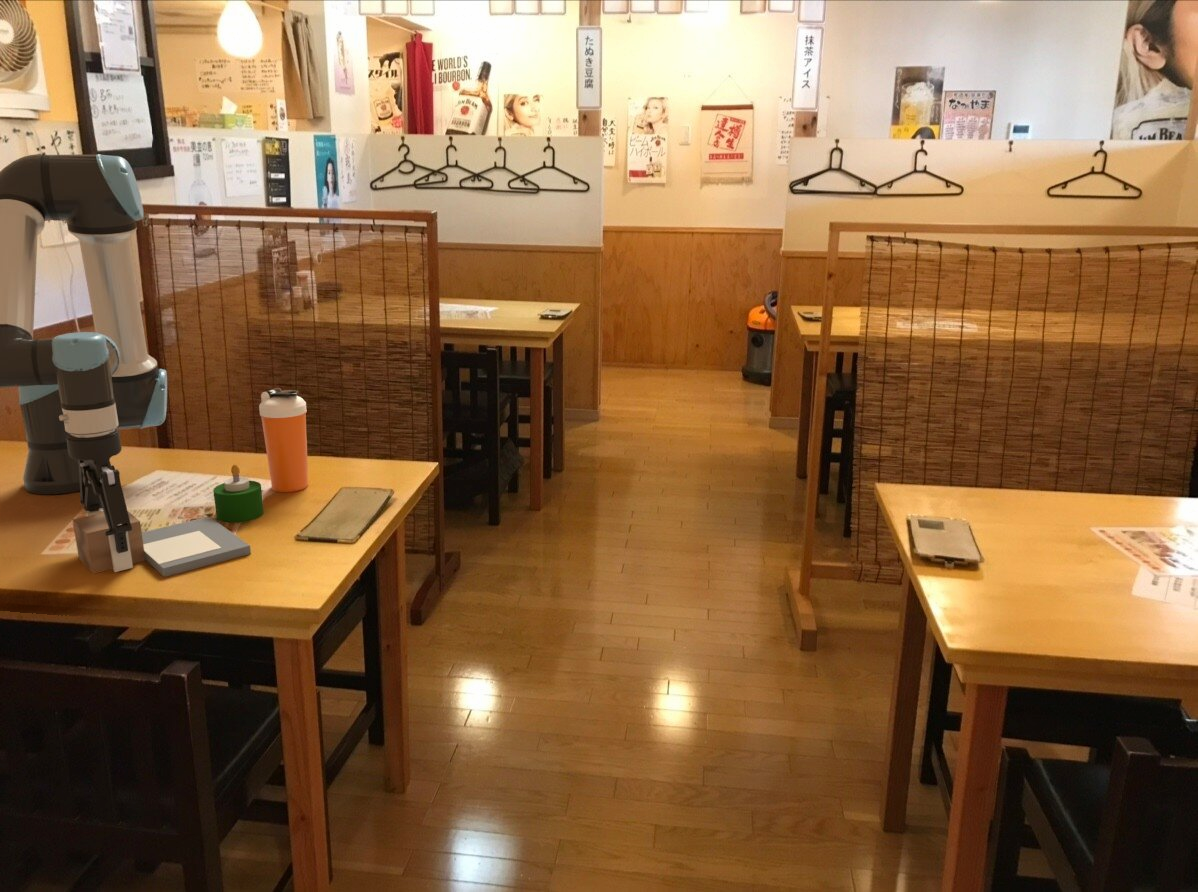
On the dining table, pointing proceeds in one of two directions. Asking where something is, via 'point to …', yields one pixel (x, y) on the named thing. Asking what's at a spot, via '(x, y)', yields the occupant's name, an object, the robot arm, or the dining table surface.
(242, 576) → the dining table surface
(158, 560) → the board
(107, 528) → the block
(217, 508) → the candle
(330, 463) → the dining table surface
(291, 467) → the shaker bottle
